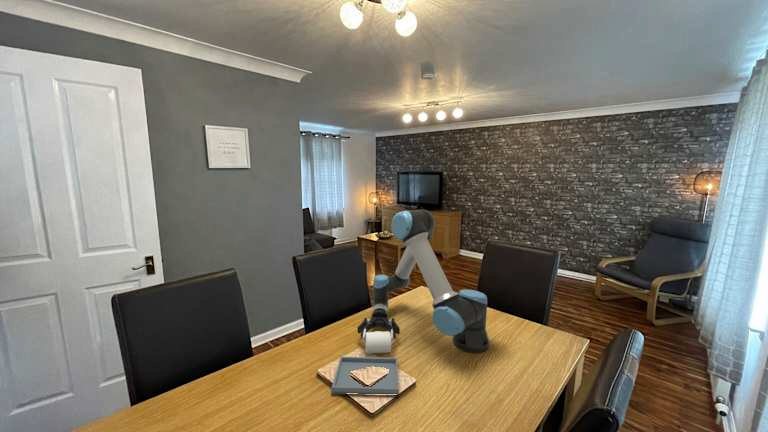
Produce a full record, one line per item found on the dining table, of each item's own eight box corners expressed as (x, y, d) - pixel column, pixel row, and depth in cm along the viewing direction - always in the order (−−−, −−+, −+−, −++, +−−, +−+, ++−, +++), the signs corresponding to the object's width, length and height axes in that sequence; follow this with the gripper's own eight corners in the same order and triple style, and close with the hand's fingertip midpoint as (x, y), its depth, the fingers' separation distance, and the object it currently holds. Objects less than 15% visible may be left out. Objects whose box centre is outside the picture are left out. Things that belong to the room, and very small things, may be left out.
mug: (391, 356, 120) (391, 337, 119) (366, 357, 119) (366, 339, 118) (387, 340, 132) (387, 323, 131) (364, 341, 131) (364, 324, 130)
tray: (397, 364, 115) (397, 358, 115) (398, 396, 99) (398, 389, 98) (340, 362, 116) (340, 356, 116) (331, 394, 99) (331, 387, 99)
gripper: (404, 323, 143) (406, 349, 121) (355, 322, 143) (349, 348, 121) (404, 308, 142) (406, 332, 120) (355, 307, 142) (348, 330, 120)
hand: (377, 340), depth 121 cm, fingers closed on mug, 11 cm apart
